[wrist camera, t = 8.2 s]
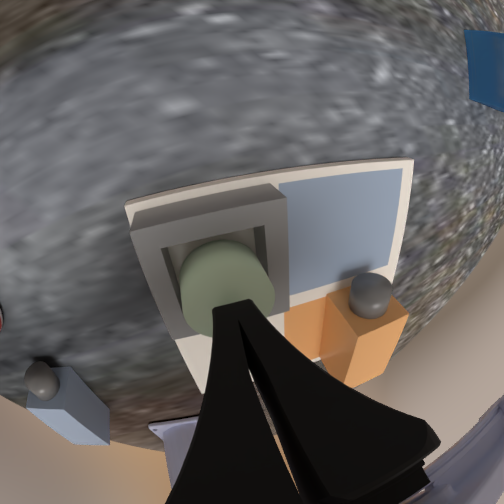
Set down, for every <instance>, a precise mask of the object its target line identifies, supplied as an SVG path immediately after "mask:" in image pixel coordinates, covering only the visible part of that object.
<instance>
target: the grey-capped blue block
mask: <svg viewBox="0 0 504 504" xmlns="http://www.w3.org/2000/svg"><path fill="white" fill-rule="evenodd" d="M24 382H25V385H26V387H27V388H28V389H29V394H28V399H27V404H26V408H27V409H28V410H29V411H30V412H31V413H33V414H34V415H35V416H36V417H38V418H39V419H40V420H41V421H43V422H44V423H45V424H46V425H48V426H49V427H50V428H52V429H53V430H55V431H56V432H57V433H59V434H60V435H62V436H63V437H64V438H66V439H67V440H69V441H70V442H72V443H74V444H81V445H110V409H109V408H108V407H107V406H106V405H105V404H104V403H103V402H102V401H101V400H100V399H99V398H98V397H97V396H96V395H95V394H94V393H93V392H92V391H91V390H90V388H89V387H88V386H87V385H86V384H85V383H84V382H83V381H82V380H81V378H80V377H79V376H78V375H77V374H76V373H75V371H74V370H73V369H72V368H71V367H70V366H69V367H56V368H50V367H49V366H48V365H47V364H46V363H45V362H42V361H38V362H35V363H33V364H32V365H31V366H30V367H29V368H28V369H27V371H26V373H25V377H24Z"/></svg>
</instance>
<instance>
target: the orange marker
mask: <svg viewBox="0 0 504 504" xmlns="http://www.w3.org/2000/svg"><path fill="white" fill-rule="evenodd" d="M392 291H393V287H392V284H391V282H390V281H389V280H388V279H387V278H386V277H384V276H382V275H380V274H377V273H371V272H367V273H361V274H359V275H357V276H355V277H354V278H353V280H352V283H351V286H349V287H346V288H343V289H340V290H337V291H334V292H331V293H328V294H326V304H325V313H324V321H323V329H322V337H321V344H320V351H319V357H320V359H321V361H322V362H323V364H324V366H325V368H326V369H327V371H328V373H329V374H330V375H331V376H333V377H334V378H336V379H338V380H339V381H341V382H342V383H344V384H345V385H347V386H349V387H351V388H353V387H356V386H358V385H360V384H362V383H364V382H366V381H368V380H370V379H372V378H374V377H376V376H378V375H380V374H382V373H383V372H384V370H385V368H386V366H387V364H388V362H389V359H390V357H391V355H392V353H393V351H394V349H395V347H396V344H397V342H398V340H399V338H400V335H401V333H402V330H403V328H404V326H405V323H406V321H407V318H408V316H409V313H408V312H407V311H406V309H405V308H404V307H403V306H402V305H401V304H400V303H399V302H398V301H397V300H396V299H395V298H394V297H393V296H392V295H391V294H392Z"/></svg>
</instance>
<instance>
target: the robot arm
mask: <svg viewBox="0 0 504 504" xmlns="http://www.w3.org/2000/svg"><path fill="white" fill-rule="evenodd" d="M212 316H213V337H212V349H211V358H210V366H209V372H208V377H207V383H206V389H205V393H204V398H203V402H202V406H201V410H200V414H199V416H197V417H191V418H185V419H179V420H173V421H166V422H159V423H151V424H149V425H148V428H149V429H150V430H151V431H152V432H154V433H155V434H156V435H157V436H158V437H160V438H161V439H162V440H163V442H164V449H165V455H166V461H167V467H168V473H169V478H170V483H171V488H172V490H171V492H170V495H169V496H168V498H167V501H166V503H165V504H496V502H497V501H498V499H499V498H500V496H501V495H502V493H503V492H504V395H503V396H502V397H501V398H499V399H498V400H497V401H496V402H495V403H494V404H493V405H492V406H491V407H490V408H489V409H488V410H487V411H486V412H485V413H484V414H483V415H482V416H481V417H480V418H479V422H478V423H477V424H476V425H475V426H474V427H473V428H472V429H471V430H470V431H469V432H468V433H466V434H465V435H464V436H463V437H462V438H461V439H460V440H459V441H458V442H457V443H455V444H454V445H453V446H452V447H451V448H449V449H448V450H447V451H446V452H445V453H443V454H442V455H441V456H440V457H438V458H437V459H436V460H435V461H433V462H432V463H431V464H429V465H428V466H427V467H425V468H424V469H423V468H422V466H423V465H425V462H424V461H423V459H424V458H425V457H426V456H428V455H429V454H430V453H432V452H433V451H434V450H435V449H437V448H438V447H439V446H440V443H441V441H440V440H439V438H438V436H437V435H436V433H435V432H434V430H433V429H432V428H431V427H430V426H429V425H428V424H427V422H426V421H425V420H423V419H420V418H417V417H414V416H411V415H408V414H405V413H403V412H400V411H398V410H395V409H393V408H390V407H388V406H385V405H383V404H381V403H379V402H377V401H375V400H372V399H371V398H369V397H367V396H365V395H363V394H361V393H360V392H358V391H356V390H354V389H352V388H351V387H349V386H347V385H345V384H344V383H342V382H341V381H339V380H338V379H336V378H334V377H333V376H331V375H330V374H329V373H327V372H326V371H324V370H323V369H322V368H320V367H319V366H317V365H316V364H315V363H314V362H312V361H311V360H310V359H309V358H307V357H306V356H305V355H304V354H303V353H301V352H300V351H299V350H298V349H297V348H296V347H295V346H293V345H292V344H291V343H290V342H289V341H288V340H287V339H286V338H285V337H284V336H283V335H282V334H281V333H280V332H279V331H278V330H277V329H276V328H275V327H274V326H273V325H272V324H271V323H270V322H269V320H268V319H267V318H266V317H265V316H264V315H263V314H262V312H261V311H260V310H259V309H258V307H257V306H256V305H255V303H254V302H253V300H251V299H246V300H242V301H238V302H234V303H230V304H226V305H221V306H217V307H214V308H213V309H212ZM249 371H250V372H249ZM250 373H251V375H252V377H253V380H254V382H255V384H256V386H257V388H258V391H259V393H260V395H261V397H262V399H263V401H264V404H265V406H266V408H267V410H268V412H269V414H270V417H271V419H272V421H273V424H274V427H275V429H276V432H277V435H278V437H279V440H280V443H281V445H282V448H283V451H284V454H285V457H286V459H287V462H288V464H289V467H290V470H291V473H292V475H293V478H294V481H295V483H296V486H297V489H298V490H297V489H296V486H295V484H294V482H293V480H292V478H291V475H290V473H289V471H288V469H287V467H286V465H285V462H284V460H283V458H282V455H281V453H280V451H279V449H278V446H277V444H276V442H275V439H274V436H273V434H272V432H271V429H270V427H269V424H268V422H267V419H266V417H265V414H264V412H263V409H262V406H261V404H260V401H259V398H258V396H257V393H256V390H255V388H254V385H253V382H252V379H251V376H250ZM424 488H425V491H422V492H420V491H421V490H423V489H424ZM298 492H299V493H298ZM418 492H420V493H418ZM417 493H418V494H417ZM299 494H300V495H299Z"/></svg>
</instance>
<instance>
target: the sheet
mask: <svg viewBox="0 0 504 504" xmlns="http://www.w3.org/2000/svg"><path fill="white" fill-rule="evenodd" d="M413 165H414V160H413V159H411V158H408V157H402V158H383V159H368V160H356V161H345V162H334V163H325V164H316V165H308V166H300V167H293V168H286V169H279V170H272V171H266V172H259V173H253V174H247V175H242V176H236V177H231V178H225V179H220V180H215V181H210V182H205V183H200V184H195V185H191V186H186V187H182V188H177V189H173V190H169V191H165V192H160V193H156V194H152V195H148V196H144V197H141V198H137V199H133V200H129V201H126V203H125V205H124V207H125V210H126V213H127V217H128V220H129V223H130V226H131V224H132V220H133V217H134V214H135V212H137V211H141V210H145V209H148V208H152V207H157V206H161V205H165V204H169V203H173V202H177V201H182V200H186V199H191V198H195V197H200V196H205V195H209V194H214V193H219V192H224V191H229V190H234V189H239V188H245V187H250V186H256V185H261V184H267V183H271V184H272V185H273V186H274V187H275V188H276V189H278V190H279V191H280V192H281V193H282V194H283V195H284V196H286V197H287V214H288V244H289V294H290V311H287V312H284V313H280V314H277V315H273V316H270V317H267V319H268V320H269V322H270V323H271V324H272V325H273V326H274V327H275V328H276V329H277V330H278V331H279V332H280V333H281V334H282V335H283V336H284V337H285V338H286V339H287V340H288V341H289V342H290V343H291V344H292V345H293V346H295V347H296V348H297V349H298V350H299V351H300V352H301V353H303V354H304V355H305V356H306V357H307V358H309V359H310V360H311V361H312V362H315V361H318V360H321V359H320V357H319V351H320V344H321V337H322V329H323V321H324V313H325V304H326V294H328V293H331V292H334V291H337V290H340V289H343V288H346V287H349V286H351V283H352V280H353V278H354V277H355V276H357V275H359V274H361V273H367V272H371V273H377V274H380V275H382V276H384V277H386V278H387V279H388V280H389V281H390V282H391V284H392V282H393V278H394V274H395V270H396V266H397V262H398V258H399V253H400V249H401V244H402V239H403V234H404V229H405V224H406V218H407V212H408V206H409V199H410V192H411V184H412V175H413ZM223 239H226V240H234V241H238V242H241V243H243V244H245V245H246V246H248V247H249V248H250V249H252V250H253V252H254V253H255V254H256V248H255V239H254V229H253V228H249V229H244V230H240V231H235V232H230V233H226V234H221V235H217V236H213V237H208V238H204V239H199V240H195V241H191V242H186V243H182V244H178V245H174V246H169V247H167V248H168V251H169V254H170V258H171V261H172V264H173V268H174V271H175V274H176V277H177V280H178V283H179V286H180V281H179V273H180V269H181V266H182V264H183V262H184V260H185V259H186V257H187V256H188V255H189V254H190V253H191V252H192V251H193V250H194V249H196V248H197V247H199V246H201V245H202V244H205V243H207V242H210V241H214V240H223ZM175 342H176V344H177V346H178V348H179V350H180V352H181V354H182V356H183V358H184V360H185V362H186V364H187V366H188V368H189V370H190V372H191V374H192V376H193V378H194V380H195V382H196V384H197V386H198V388H199V390H200V391H201V393H202V394H203V393H205V389H206V383H207V377H208V372H209V366H210V358H211V349H212V337H208V336H204V335H202V334H199V335H195V336H190V337H186V338H181V339H176V340H175ZM249 372H250V371H249ZM250 376H251V379H252V382H253V381H254V380H253V377H252V375H251V373H250Z"/></svg>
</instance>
